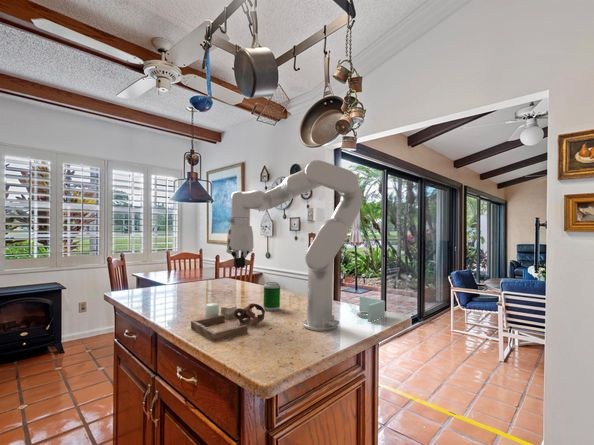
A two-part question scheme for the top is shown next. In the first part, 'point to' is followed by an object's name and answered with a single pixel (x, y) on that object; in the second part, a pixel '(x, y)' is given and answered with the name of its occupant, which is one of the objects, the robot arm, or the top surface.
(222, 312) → the birch block
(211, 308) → the pale green capsule
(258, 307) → the pottery mug
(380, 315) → the l-shaped corner panel
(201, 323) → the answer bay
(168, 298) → the top surface
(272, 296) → the soda can
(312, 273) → the robot arm
